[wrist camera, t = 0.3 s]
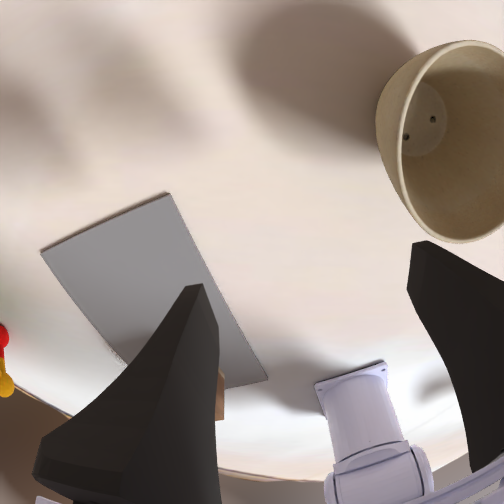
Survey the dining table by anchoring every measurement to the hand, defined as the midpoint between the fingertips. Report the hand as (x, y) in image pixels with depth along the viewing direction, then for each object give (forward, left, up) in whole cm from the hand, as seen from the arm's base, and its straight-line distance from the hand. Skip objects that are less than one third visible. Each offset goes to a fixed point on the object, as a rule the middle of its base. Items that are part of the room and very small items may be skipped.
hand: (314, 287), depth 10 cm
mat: (-8, +12, -10) cm, 18 cm away
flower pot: (+2, -10, -10) cm, 14 cm away
